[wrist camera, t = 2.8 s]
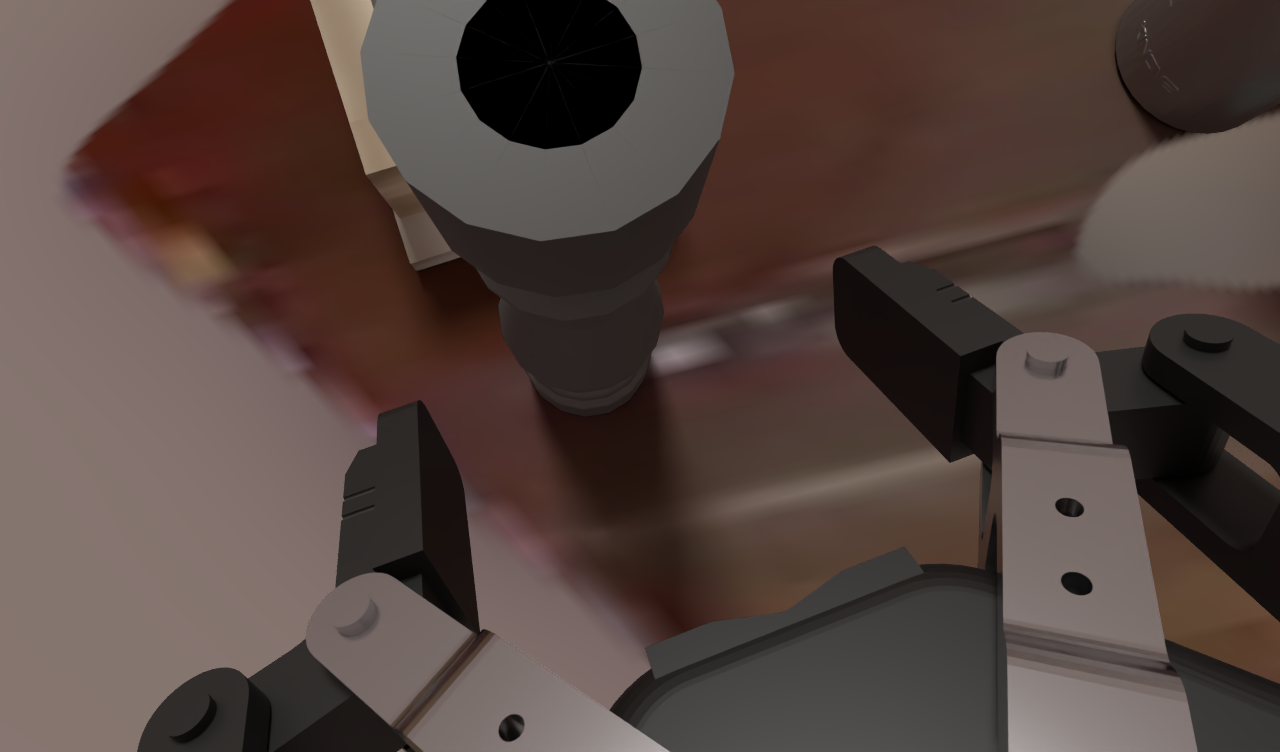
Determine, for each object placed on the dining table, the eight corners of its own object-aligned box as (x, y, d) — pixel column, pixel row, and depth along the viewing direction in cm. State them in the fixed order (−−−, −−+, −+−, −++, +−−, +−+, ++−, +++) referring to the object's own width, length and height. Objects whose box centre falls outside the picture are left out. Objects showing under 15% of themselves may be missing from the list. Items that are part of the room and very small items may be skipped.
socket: (557, -98, 39) (548, -205, 33) (666, 191, 37) (678, 133, 31) (318, -33, 38) (263, -132, 32) (416, 271, 35) (377, 227, 29)
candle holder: (673, 359, 35) (833, 78, 11) (584, 442, 35) (534, 345, 10) (591, 272, 36) (562, -186, 11) (500, 352, 35) (255, 46, 10)
